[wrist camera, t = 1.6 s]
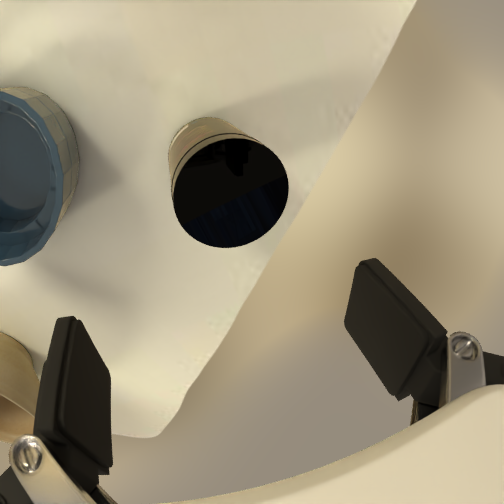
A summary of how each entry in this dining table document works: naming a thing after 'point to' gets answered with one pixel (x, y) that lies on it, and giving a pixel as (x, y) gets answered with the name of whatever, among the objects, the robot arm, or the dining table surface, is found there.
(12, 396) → the planter bowl
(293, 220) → the dining table surface
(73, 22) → the dining table surface
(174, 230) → the dining table surface
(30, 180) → the basin
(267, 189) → the supplement container
